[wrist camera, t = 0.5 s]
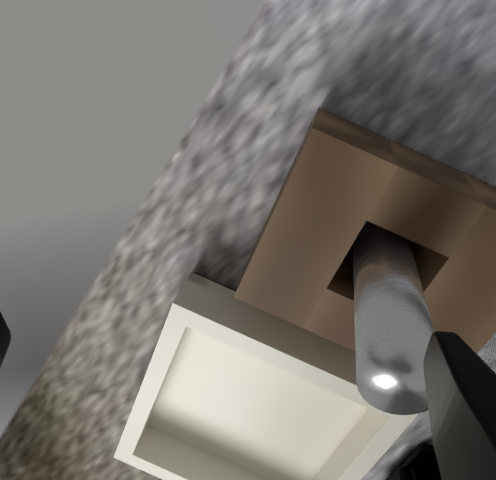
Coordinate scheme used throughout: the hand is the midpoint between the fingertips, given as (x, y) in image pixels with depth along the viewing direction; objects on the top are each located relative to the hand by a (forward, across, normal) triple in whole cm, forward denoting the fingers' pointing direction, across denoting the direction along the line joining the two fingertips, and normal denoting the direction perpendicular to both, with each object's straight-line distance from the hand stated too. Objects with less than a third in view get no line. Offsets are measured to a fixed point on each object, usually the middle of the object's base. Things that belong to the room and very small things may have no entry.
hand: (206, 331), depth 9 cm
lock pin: (+12, -6, +5) cm, 14 cm away
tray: (+10, 0, +17) cm, 20 cm away
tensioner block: (+12, -6, +5) cm, 14 cm away
